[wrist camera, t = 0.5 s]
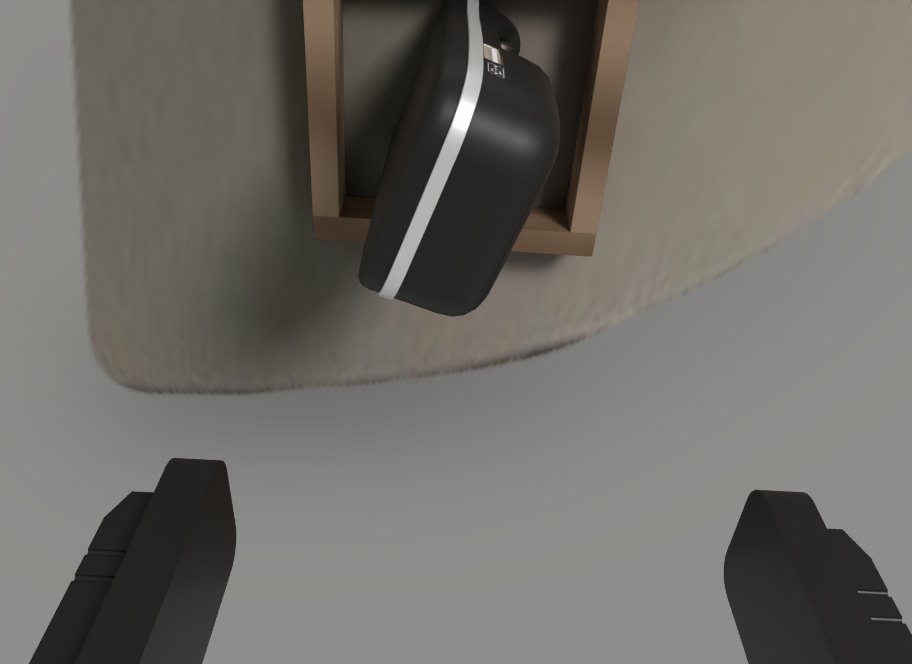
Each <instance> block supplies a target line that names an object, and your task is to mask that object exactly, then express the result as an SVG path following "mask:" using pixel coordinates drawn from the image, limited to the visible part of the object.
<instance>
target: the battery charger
mask: <svg viewBox="0 0 912 664" xmlns="http://www.w3.org/2000/svg"><path fill="white" fill-rule="evenodd" d="M519 51H520V37H519V33H518V31H517V29H516V27H515V26H514V25H513V23H512V22H511V21H510V20H509V19H508V18H507V17H506V16H504V15H503V14H501V13H500V12H499V11H497V10H496V9H495V8H493V7H491V6H488V5H486V4H484V3H482V2H480V1H479V0H444V2H443V5H442V8H441V10H440V13H439V16H438V18H437V21H436V23H435V26H434V29H433V31H432V34H431V37H430V39H429V42H428V45H427V47H426V50H425V52H424V55H423V58H422V60H421V63H420V66H419V68H418V71H417V74H416V76H415V79H414V82H413V84H412V87H411V90H410V92H409V95H408V97H407V100H406V103H405V105H404V108H403V111H402V113H401V116H400V119H399V121H398V124H397V127H396V129H395V132H394V135H393V137H392V140H391V143H390V145H389V149H388V153H387V157H386V162H385V166H384V170H383V174H382V178H381V182H380V186H379V190H378V194H377V197H376V201H375V205H374V209H373V213H372V217H371V221H370V225H369V229H368V234H367V238H366V242H365V246H364V250H363V255H362V259H361V263H360V268H359V273H358V277H359V281H360V283H361V284H362V285H363V286H364V287H366V288H368V289H370V290H373V291H376V292H377V295H378V296H380V297H383V298H386V299H389V300H392V299H393V298H395V299H398V300H401V301H404V302H407V303H410V304H412V305H415V306H418V307H421V308H424V309H427V310H429V311H432V312H435V313H439V314H443V315H447V316H461V315H465V314H467V313H469V312H471V311H473V310H475V309H476V308H477V307H478V306H479V305H480V304H481V303H482V302H483V301H484V300H485V298H486V297H487V295H488V294H489V292H490V290H491V288H492V286H493V284H494V283H495V281H496V279H497V277H498V275H499V273H500V271H501V269H502V267H503V265H504V263H505V261H506V259H507V258H508V256H509V254H510V252H511V250H512V248H513V246H514V244H515V242H516V240H517V238H518V236H519V234H520V232H521V230H522V229H523V227H524V225H525V223H526V221H527V219H528V217H529V215H530V213H531V211H532V209H533V207H534V205H535V203H536V201H537V199H538V197H539V195H540V193H541V191H542V189H543V187H544V185H545V183H546V181H547V179H548V177H549V175H550V173H551V171H552V168H553V166H554V164H555V161H556V158H557V155H558V152H559V144H560V119H559V112H558V106H557V101H556V98H555V95H554V92H553V89H552V86H551V83H550V80H549V77H548V76H547V75H546V74H545V73H544V72H543V70H542V69H541V68H540V67H539V66H537V65H535V64H534V63H532V62H530V61H528V60H527V59H525V58H523V57H521V56H518V54H519Z"/></svg>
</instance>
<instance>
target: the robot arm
mask: <svg viewBox="0 0 912 664" xmlns="http://www.w3.org/2000/svg"><path fill="white" fill-rule="evenodd" d="M235 547H236V525H235V518H234V512H233V505H232V499H231V493H230V486H229V480H228V474H227V468H226V465H225V463H224V461H221V460H202V459H183V458H173V459H171V460H170V461H169V462H168V464H167V465H166V467H165V470H164V472H163V474H162V476H161V478H160V480H159V483H158V485H157V487H156V489H155V491H154V493H152V492H133V491H132V492H131V493H130V494H129V495H128V496H127V497H126V498H125V499H123V500H122V501H121V502H120V503H119V504H118V505H117V506H116V507H115V508H114V509H113V510H112V511H111V512H110V513H108V514H107V515H106V516H105V517H104V519H103V521H102V523H101V525H100V527H99V528H98V530H97V532H96V534H95V536H94V538H93V540H92V542H91V544H90V546H89V548H88V554H87V555H85V556H84V558H83V560H82V562H81V563H80V565H79V567H78V569H77V571H76V573H75V579H74V581H71V583H70V585H69V587H68V589H67V591H66V593H65V595H64V597H63V599H62V601H61V602H60V605H59V607H58V608H57V610H56V612H55V614H54V616H53V618H52V620H51V622H50V624H49V626H48V628H47V630H46V632H45V633H44V636H43V638H42V639H41V641H40V643H39V645H38V647H37V649H36V651H35V653H34V655H33V657H32V659H31V661H30V663H29V664H202V662H203V659H204V656H205V653H206V650H207V646H208V643H209V640H210V637H211V634H212V630H213V627H214V624H215V621H216V617H217V614H218V611H219V608H220V605H221V602H222V598H223V595H224V592H225V589H226V585H227V582H228V579H229V576H230V573H231V569H232V566H233V561H234V556H235ZM724 583H725V589H726V594H727V597H728V601H729V604H730V607H731V610H732V613H733V616H734V619H735V622H736V626H737V629H738V632H739V635H740V638H741V641H742V644H743V647H744V650H745V653H746V656H747V660H748V663H749V664H912V635H911V633H910V631H909V629H908V627H907V625H906V624H903V623H902V616H901V614H900V612H899V610H898V608H897V607H896V605H895V603H894V601H893V599H892V597H888V590H887V588H886V586H885V584H884V582H883V580H882V578H881V576H880V575H879V572H878V571H877V569H876V567H875V565H874V563H873V561H872V559H871V558H870V557H869V556H868V555H867V554H866V553H865V552H864V551H863V550H862V549H861V548H860V547H859V546H858V545H857V544H856V543H855V542H854V541H853V540H852V539H851V538H850V537H849V536H848V535H847V534H846V533H845V532H844V531H843V530H841V529H827V528H826V526H825V524H824V522H823V520H822V518H821V516H820V514H819V512H818V510H817V507H816V506H815V504H814V502H813V500H812V499H811V497H810V496H809V495H808V494H806V493H804V492H786V491H768V490H754V491H752V492H751V493H750V495H749V497H748V499H747V501H746V504H745V506H744V509H743V512H742V514H741V516H740V519H739V522H738V524H737V527H736V530H735V532H734V535H733V537H732V540H731V543H730V545H729V547H728V550H727V553H726V557H725V562H724Z"/></svg>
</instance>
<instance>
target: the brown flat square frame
mask: <svg viewBox="0 0 912 664" xmlns="http://www.w3.org/2000/svg"><path fill="white" fill-rule="evenodd" d="M638 5H639V0H598V5H597V12H596V18H595V24H594V31H593V37H592V44H591V50H590V56H589V63H588V69H587V75H586V82H585V88H584V94H583V101H582V107H581V114H580V120H579V126H578V133H577V139H576V145H575V152H574V158H573V164H572V171H571V177H570V184H569V190H568V196H567V203H566V209H565V210H557V209H542V208H533V209H532V211H531V213H530V215H529V217H528V219H527V221H526V223H525V225H524V227H523V229H522V230H521V232H520V234H519V236H518V238H517V240H516V242H515V244H514V246H513V248H512V250H511V251H514V252H529V253H545V254H561V255H576V256H592V253H593V248H594V243H595V237H596V232H597V226H598V221H599V216H600V210H601V205H602V200H603V194H604V189H605V183H606V178H607V173H608V167H609V162H610V156H611V151H612V146H613V140H614V135H615V129H616V124H617V119H618V113H619V108H620V102H621V97H622V92H623V86H624V81H625V76H626V70H627V65H628V59H629V54H630V49H631V43H632V38H633V32H634V27H635V22H636V16H637V11H638ZM303 12H304V33H305V55H306V77H307V99H308V121H309V143H310V165H311V187H312V209H313V231H314V239H326V240H342V241H358V242H366V238H367V234H368V229H369V225H370V221H371V217H372V213H373V209H374V205H375V201H376V198H374V197H358V196H346V183H345V130H344V77H343V24H342V0H303Z"/></svg>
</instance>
